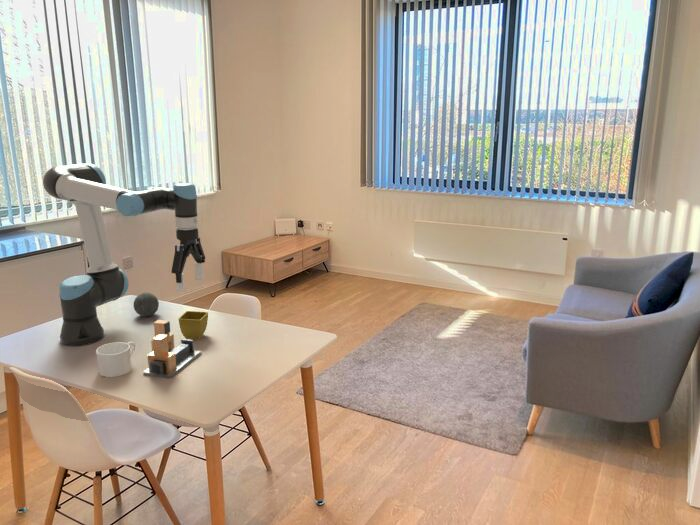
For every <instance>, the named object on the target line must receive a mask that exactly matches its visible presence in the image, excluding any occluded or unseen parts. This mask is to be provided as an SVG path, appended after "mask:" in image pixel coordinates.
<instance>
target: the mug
mask: <svg viewBox="0 0 700 525" xmlns="http://www.w3.org/2000/svg"><path fill="white" fill-rule="evenodd" d="M135 349H136V345H135V343H134V342H133V341H128V342H121V341H119V342H118V341H115V342H109V343H105V344H102V345H100V346H98V347H97V348H96V350H95V355H96V360H97V366H98V371H99V375H100V376H102V377H104V376H105V377H104V378H117V377H121V376H124V375H127V374H128V373H129V372H130V371H131V370H132V361H131V360H132V358H131V357H132V356H133V354H134V352H135ZM116 376H117V377H116Z"/></svg>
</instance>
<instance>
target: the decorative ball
mask: <svg viewBox="0 0 700 525" xmlns="http://www.w3.org/2000/svg"><path fill="white" fill-rule="evenodd" d="M159 304H160V303H159V299H158V298H157V296H156V295H154V294H153V293H150V292H142V293H140V294H138V295H137V296H136V297H135V299H134V301H133V309H134V311H135V313H136V314H138V315H139V316H142V317H150V316H153V315H155V313H156V312H157V311H158V309H159Z"/></svg>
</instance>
